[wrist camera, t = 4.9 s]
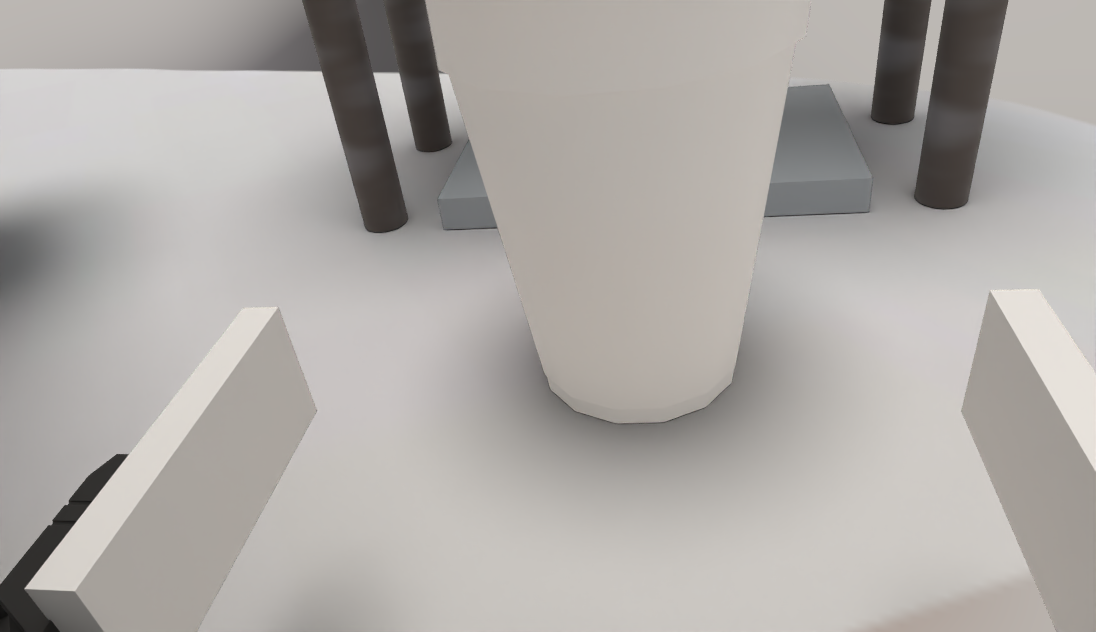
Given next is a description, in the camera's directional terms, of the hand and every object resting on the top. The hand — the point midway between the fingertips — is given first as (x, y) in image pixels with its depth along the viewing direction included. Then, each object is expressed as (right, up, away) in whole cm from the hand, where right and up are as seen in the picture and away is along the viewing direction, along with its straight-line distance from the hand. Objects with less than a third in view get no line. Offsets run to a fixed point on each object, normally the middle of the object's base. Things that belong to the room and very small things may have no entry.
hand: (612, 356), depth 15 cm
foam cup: (+2, -1, +11) cm, 11 cm away
